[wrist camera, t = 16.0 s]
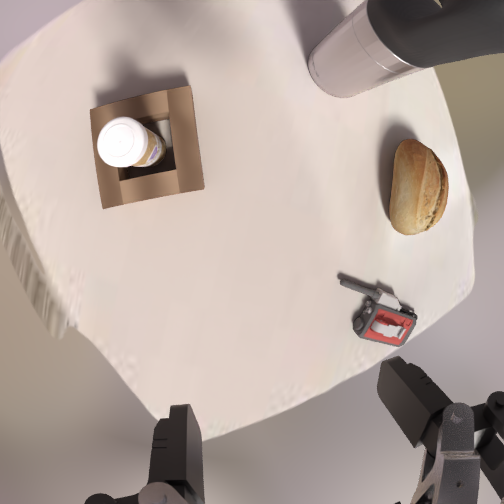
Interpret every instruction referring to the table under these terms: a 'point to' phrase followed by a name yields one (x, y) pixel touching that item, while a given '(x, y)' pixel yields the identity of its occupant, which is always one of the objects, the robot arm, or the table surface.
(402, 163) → the bread roll
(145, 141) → the sprinkles bottle
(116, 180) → the walnut bottle stand
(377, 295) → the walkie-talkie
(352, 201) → the table surface
